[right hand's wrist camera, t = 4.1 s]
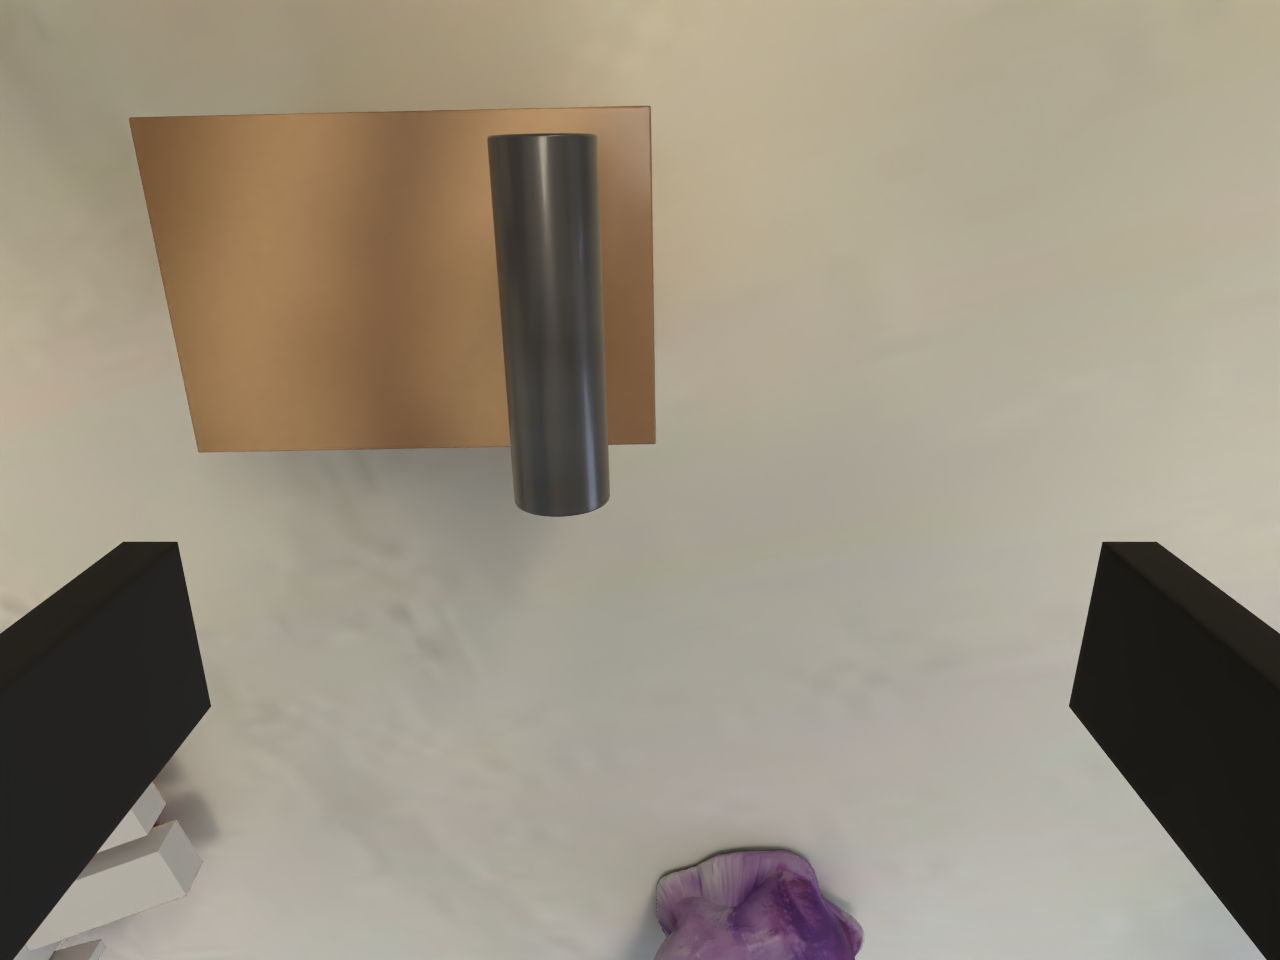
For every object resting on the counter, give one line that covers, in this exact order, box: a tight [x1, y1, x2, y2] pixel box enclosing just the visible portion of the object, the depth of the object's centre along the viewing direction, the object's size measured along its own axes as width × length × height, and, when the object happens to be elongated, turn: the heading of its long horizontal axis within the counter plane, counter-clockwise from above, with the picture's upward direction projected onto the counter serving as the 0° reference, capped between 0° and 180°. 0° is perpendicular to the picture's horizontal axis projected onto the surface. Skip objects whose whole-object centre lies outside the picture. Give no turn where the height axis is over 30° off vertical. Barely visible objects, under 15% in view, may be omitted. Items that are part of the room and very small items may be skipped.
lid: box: [129, 106, 656, 517], centre depth 22 cm, size 14×9×9 cm
